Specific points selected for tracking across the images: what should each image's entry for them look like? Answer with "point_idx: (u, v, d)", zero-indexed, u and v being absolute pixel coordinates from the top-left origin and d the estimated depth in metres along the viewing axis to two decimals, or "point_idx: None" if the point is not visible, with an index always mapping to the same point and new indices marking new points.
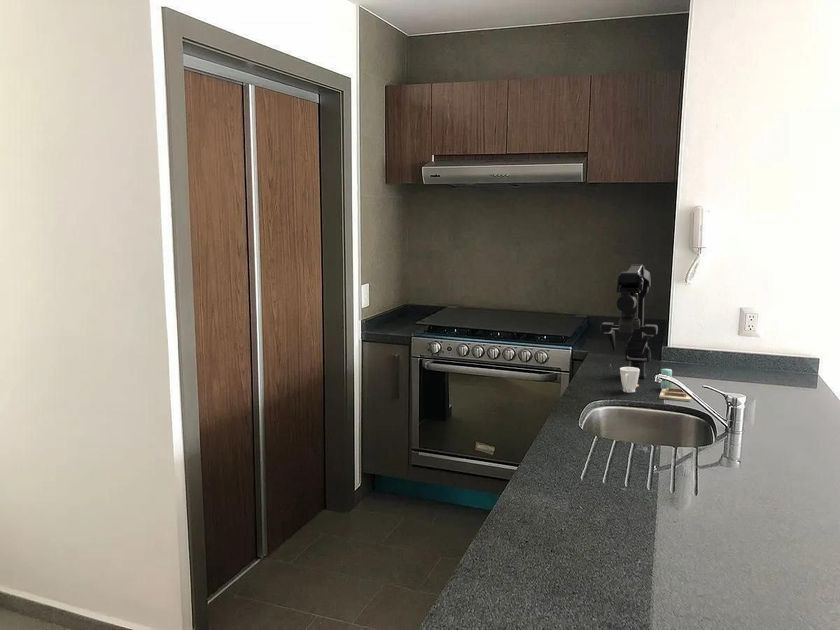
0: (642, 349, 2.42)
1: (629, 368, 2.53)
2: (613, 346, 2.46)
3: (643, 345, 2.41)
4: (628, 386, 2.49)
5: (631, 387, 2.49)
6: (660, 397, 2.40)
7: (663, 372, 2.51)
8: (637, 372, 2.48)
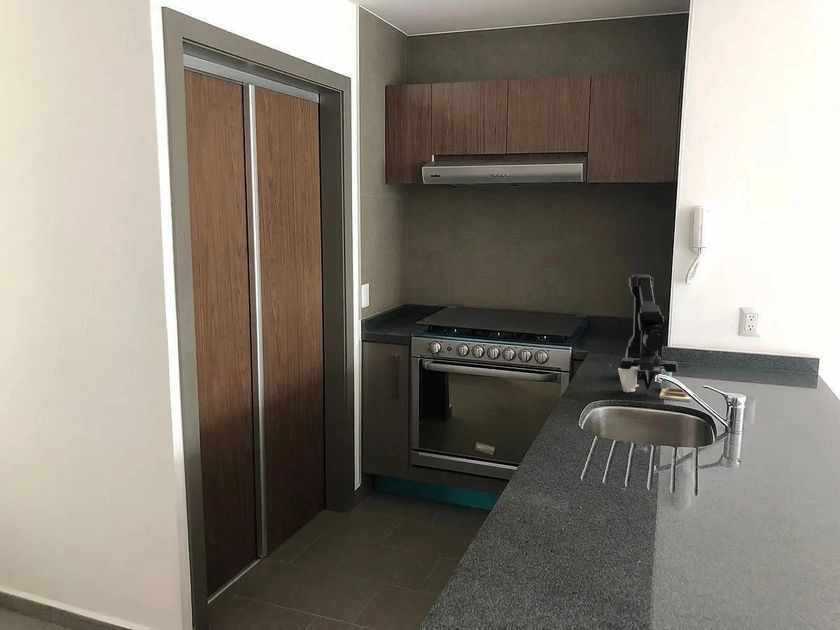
0: (649, 385, 2.46)
1: None
2: (646, 383, 2.46)
3: (650, 381, 2.45)
4: (628, 386, 2.49)
5: (631, 386, 2.49)
6: (660, 397, 2.40)
7: (663, 372, 2.51)
8: (635, 371, 2.48)
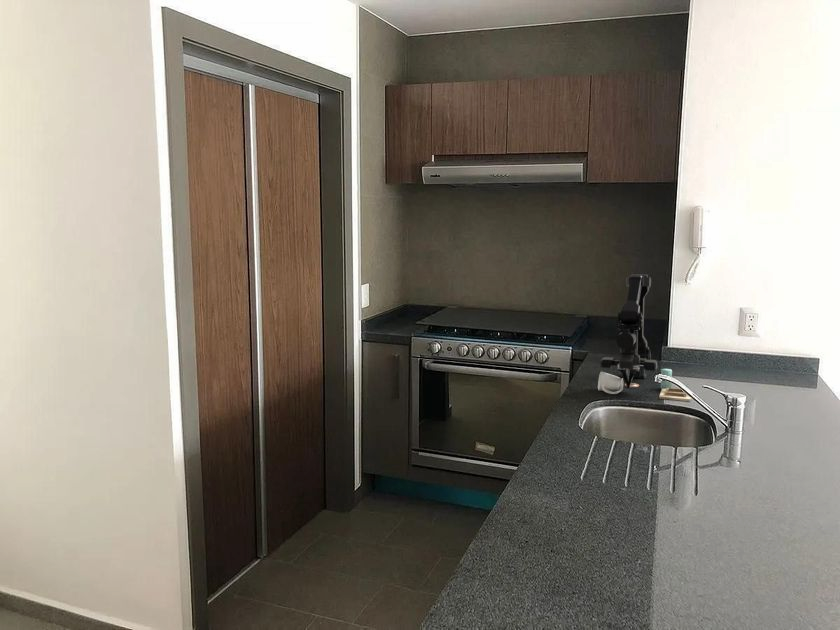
0: (629, 383, 2.48)
1: (600, 378, 2.55)
2: (626, 382, 2.49)
3: (630, 379, 2.48)
4: (616, 386, 2.49)
5: (618, 383, 2.49)
6: (660, 397, 2.40)
7: (663, 372, 2.51)
8: (603, 376, 2.50)
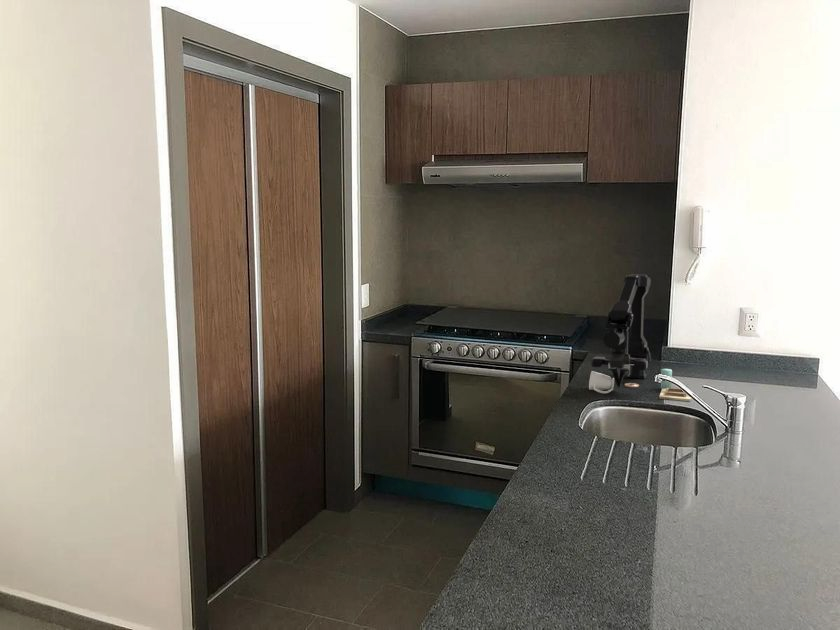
0: (619, 382, 2.50)
1: (591, 377, 2.56)
2: (617, 381, 2.50)
3: (620, 378, 2.49)
4: (607, 385, 2.51)
5: (609, 383, 2.51)
6: (660, 397, 2.40)
7: (663, 372, 2.51)
8: (594, 375, 2.51)
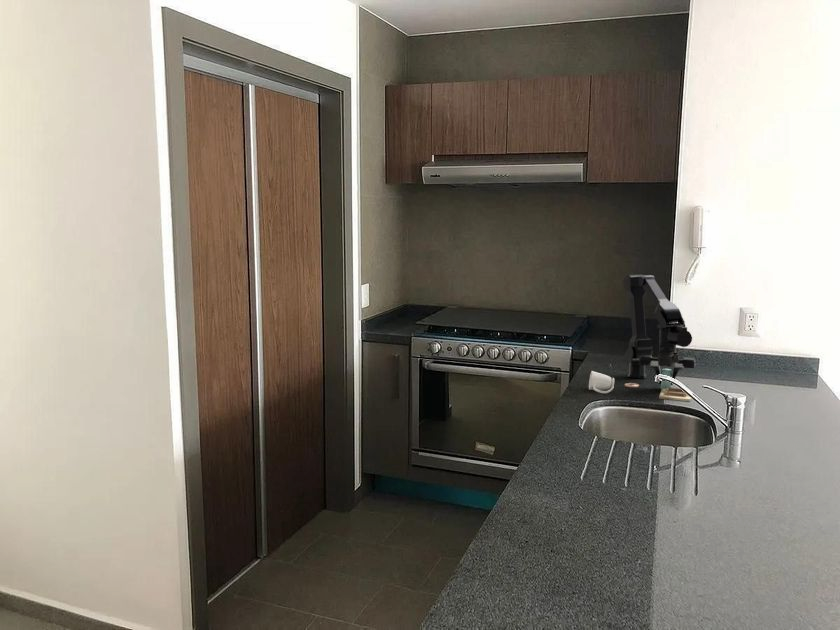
0: None
1: (591, 377, 2.56)
2: None
3: (673, 377, 2.50)
4: (607, 385, 2.51)
5: (608, 383, 2.51)
6: (660, 397, 2.40)
7: (663, 372, 2.51)
8: (594, 375, 2.51)
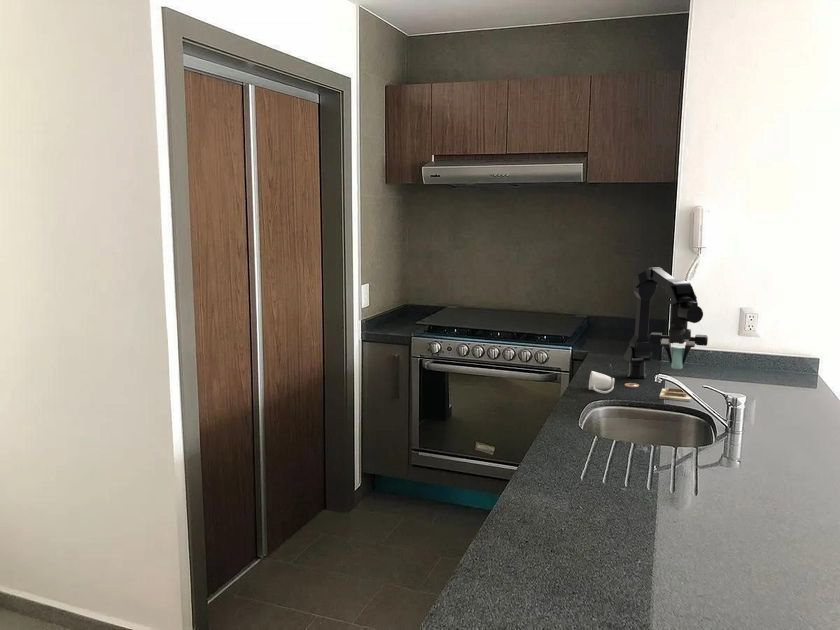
0: (684, 359, 2.40)
1: (591, 377, 2.56)
2: (670, 357, 2.42)
3: (685, 355, 2.39)
4: (607, 385, 2.51)
5: (608, 383, 2.51)
6: (660, 397, 2.40)
7: (674, 350, 2.40)
8: (594, 375, 2.51)
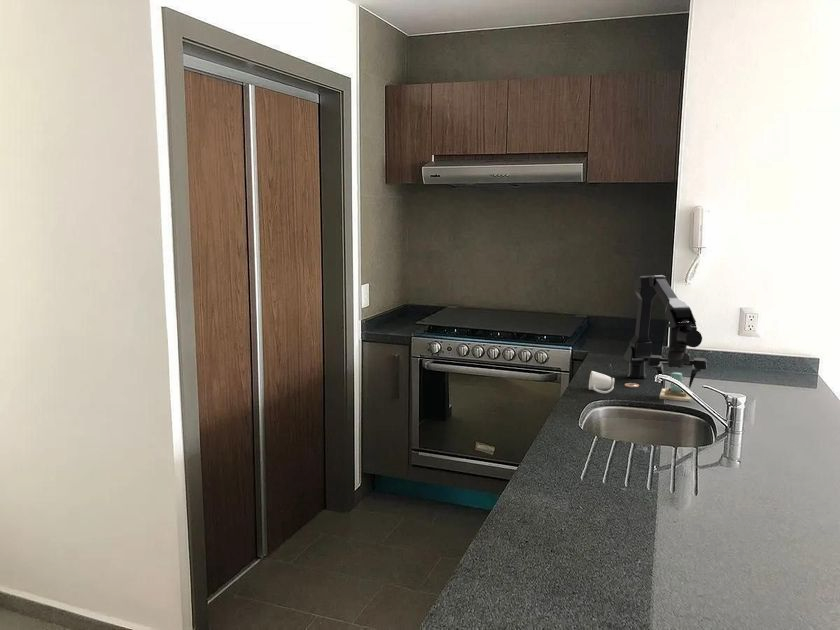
0: (690, 383, 2.40)
1: (591, 377, 2.56)
2: None
3: (691, 379, 2.39)
4: (607, 385, 2.51)
5: (608, 383, 2.51)
6: (660, 397, 2.40)
7: (673, 376, 2.41)
8: (594, 375, 2.51)
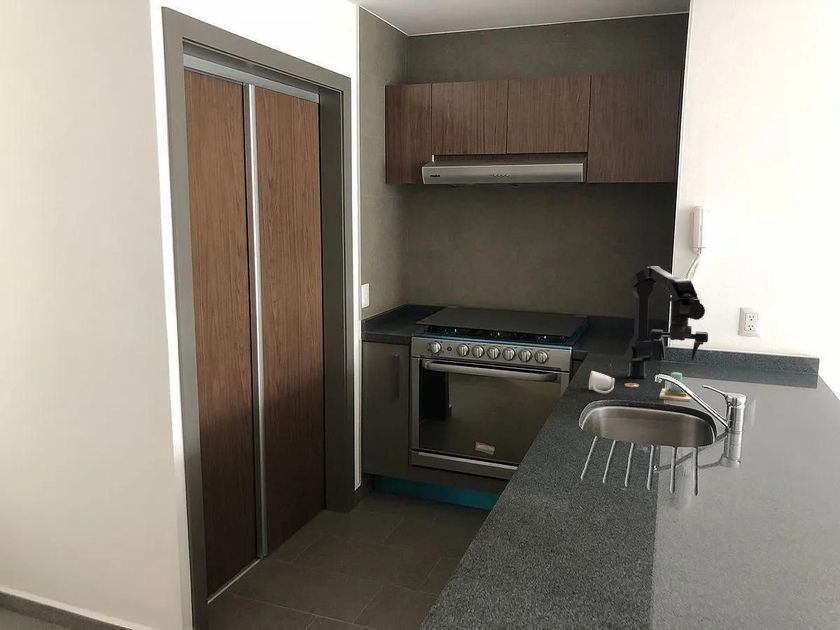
0: (692, 356, 2.41)
1: (591, 377, 2.56)
2: (663, 353, 2.45)
3: (694, 352, 2.41)
4: (607, 385, 2.51)
5: (608, 383, 2.51)
6: (660, 397, 2.40)
7: (673, 376, 2.41)
8: (594, 375, 2.51)
